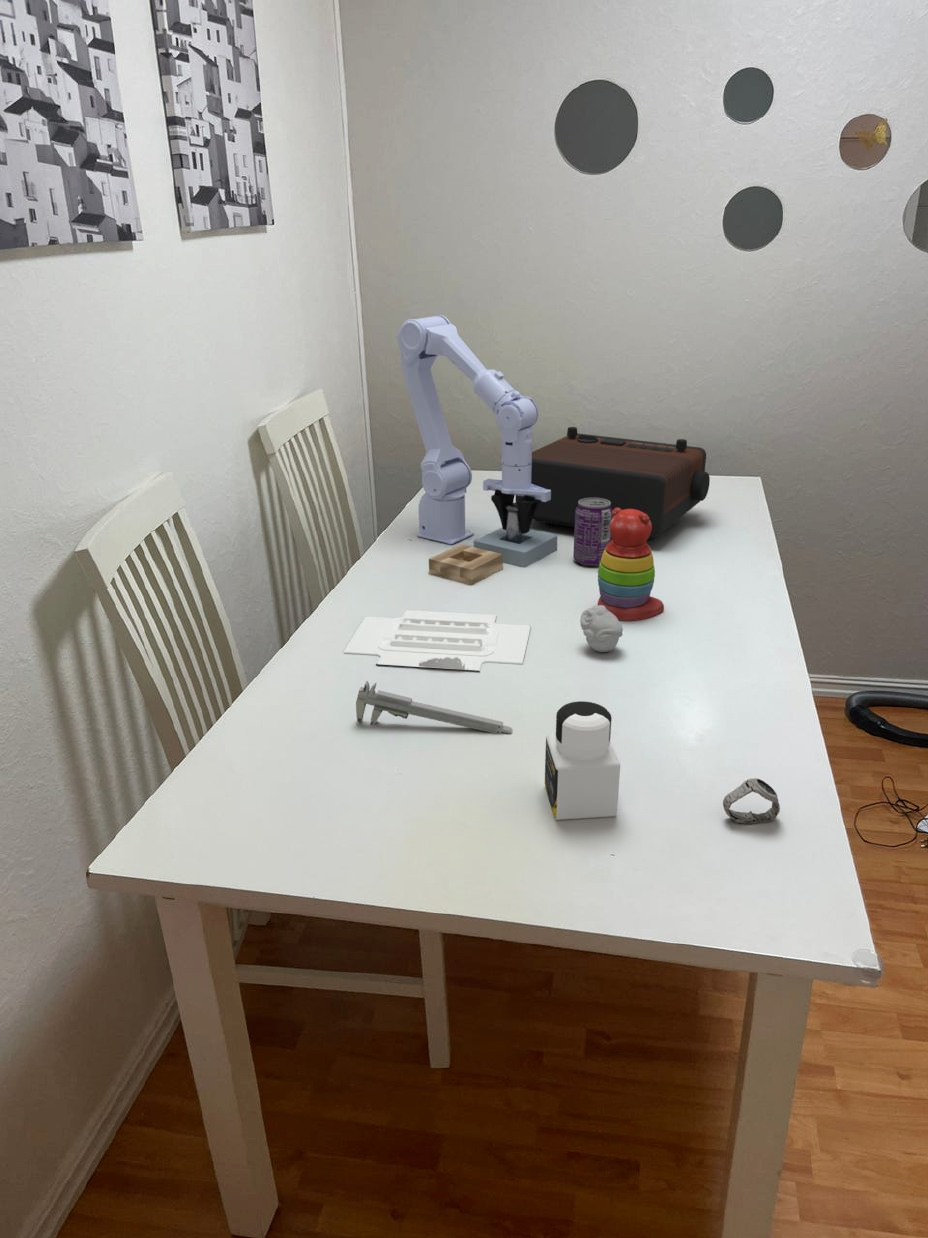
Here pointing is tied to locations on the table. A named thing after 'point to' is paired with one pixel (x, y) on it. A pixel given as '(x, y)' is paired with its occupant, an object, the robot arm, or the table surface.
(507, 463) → the robot arm
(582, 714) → the medicine bottle
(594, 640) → the frog figurine
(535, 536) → the dock
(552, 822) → the table surface
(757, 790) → the wristwatch
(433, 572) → the mount
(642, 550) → the stacking bear
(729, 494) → the table surface
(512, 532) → the pin
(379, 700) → the caliper
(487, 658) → the tray
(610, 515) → the beverage can
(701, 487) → the radio receiver
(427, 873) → the table surface
